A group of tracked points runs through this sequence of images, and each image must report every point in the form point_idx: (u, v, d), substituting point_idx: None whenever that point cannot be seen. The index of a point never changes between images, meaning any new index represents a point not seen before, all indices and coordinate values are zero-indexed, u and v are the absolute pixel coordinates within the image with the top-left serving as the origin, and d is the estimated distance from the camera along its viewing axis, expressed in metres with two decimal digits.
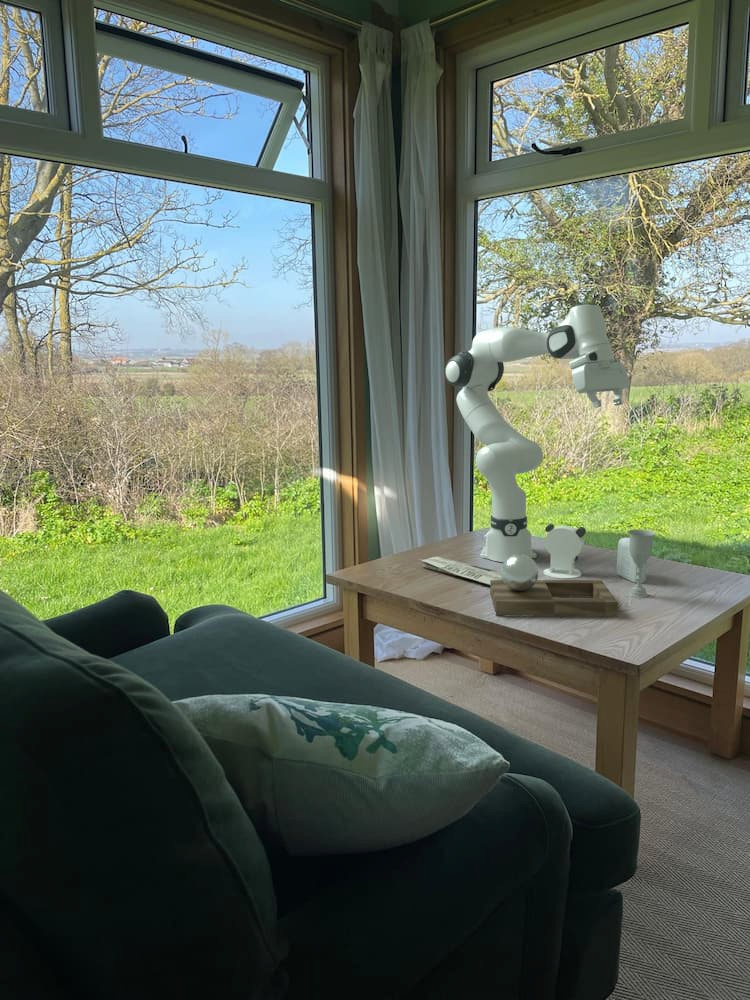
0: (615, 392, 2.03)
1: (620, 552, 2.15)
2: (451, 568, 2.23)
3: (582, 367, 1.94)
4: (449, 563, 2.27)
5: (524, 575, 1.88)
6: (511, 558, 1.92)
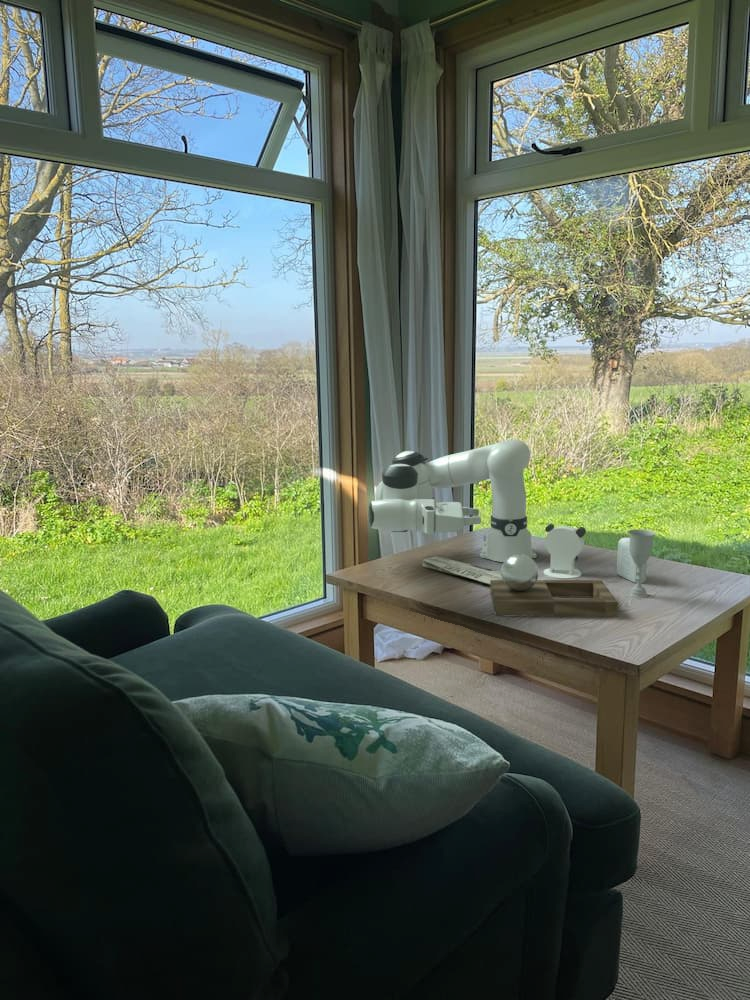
0: (464, 513, 1.97)
1: (620, 552, 2.15)
2: (451, 568, 2.23)
3: (438, 517, 1.83)
4: (450, 563, 2.27)
5: (524, 575, 1.88)
6: (511, 558, 1.92)
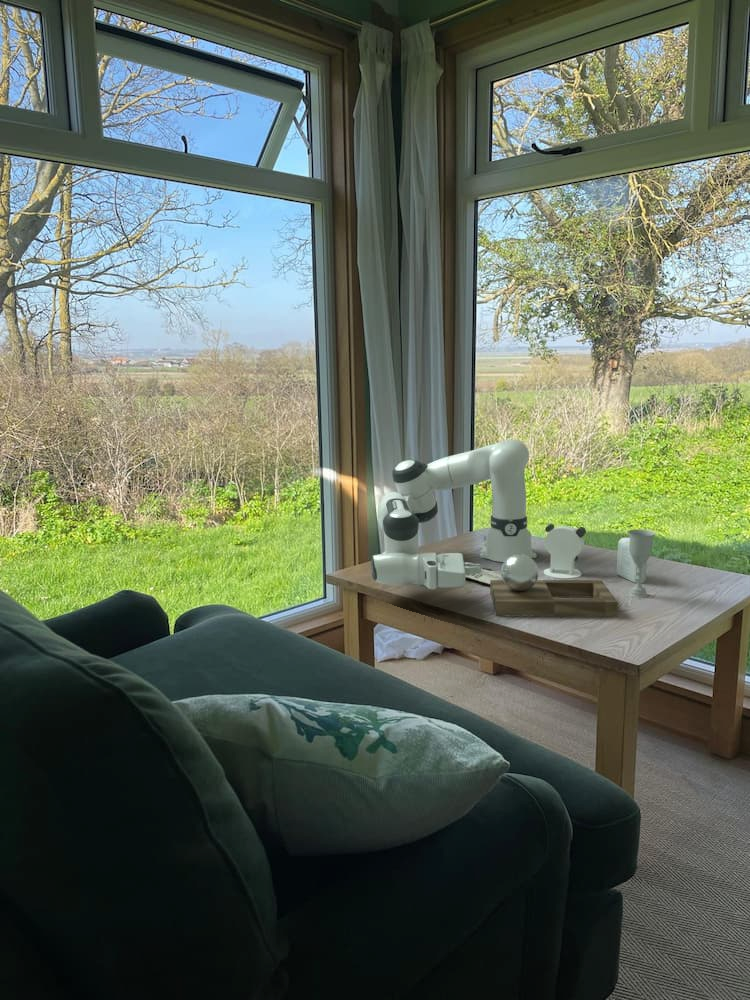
0: None
1: (620, 552, 2.15)
2: None
3: (440, 573, 1.86)
4: None
5: (524, 575, 1.88)
6: (511, 558, 1.92)
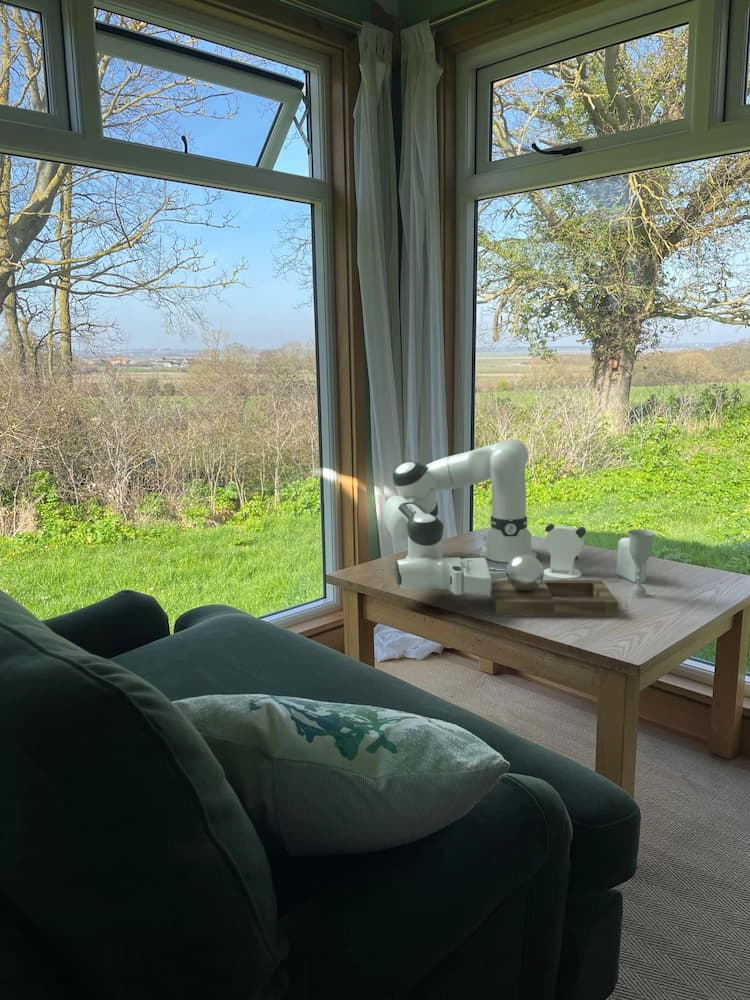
0: None
1: (620, 552, 2.15)
2: None
3: (466, 578, 1.84)
4: None
5: (530, 576, 1.88)
6: (521, 557, 1.91)
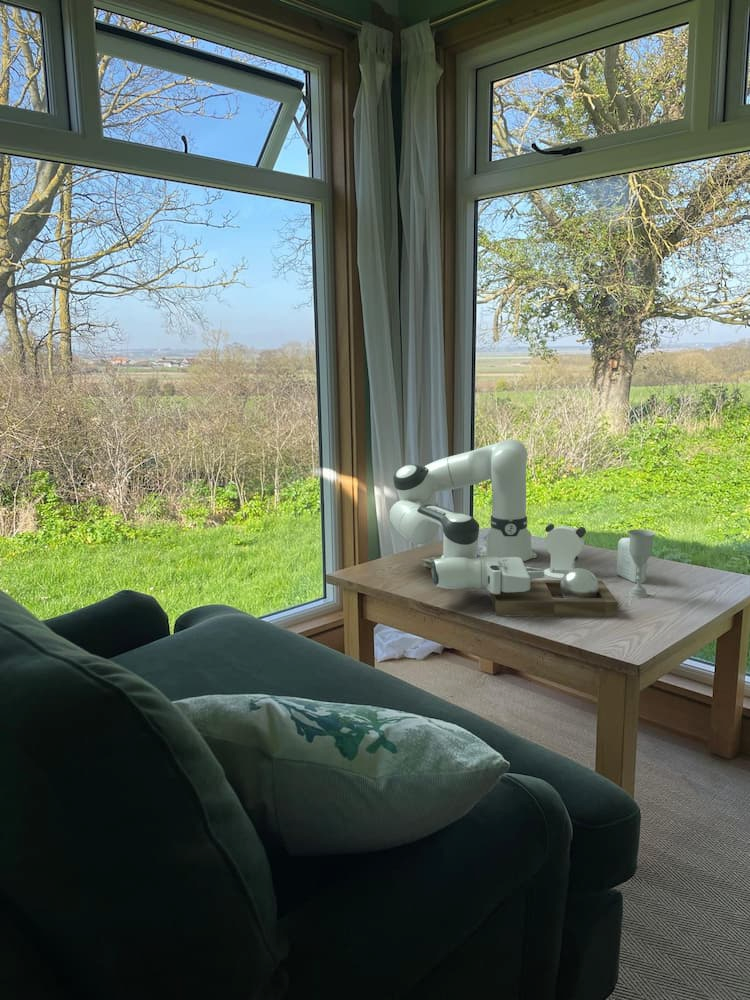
0: None
1: (620, 552, 2.15)
2: None
3: (505, 578, 1.84)
4: None
5: (580, 593, 1.88)
6: None
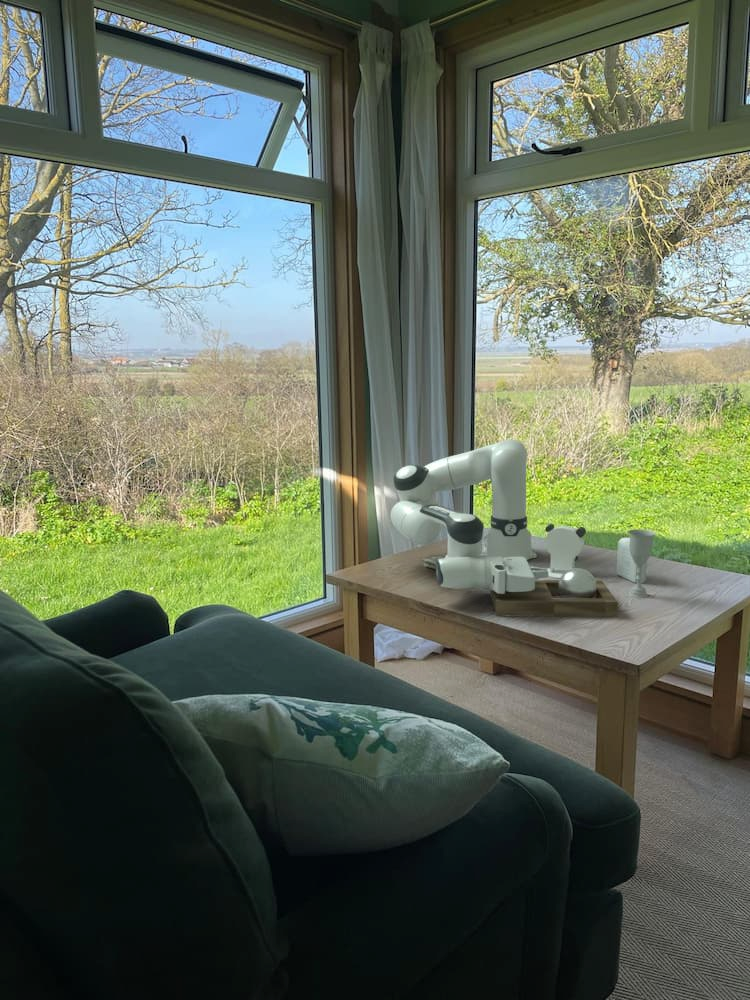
0: None
1: (620, 552, 2.15)
2: None
3: (510, 577, 1.84)
4: None
5: (579, 593, 1.88)
6: None
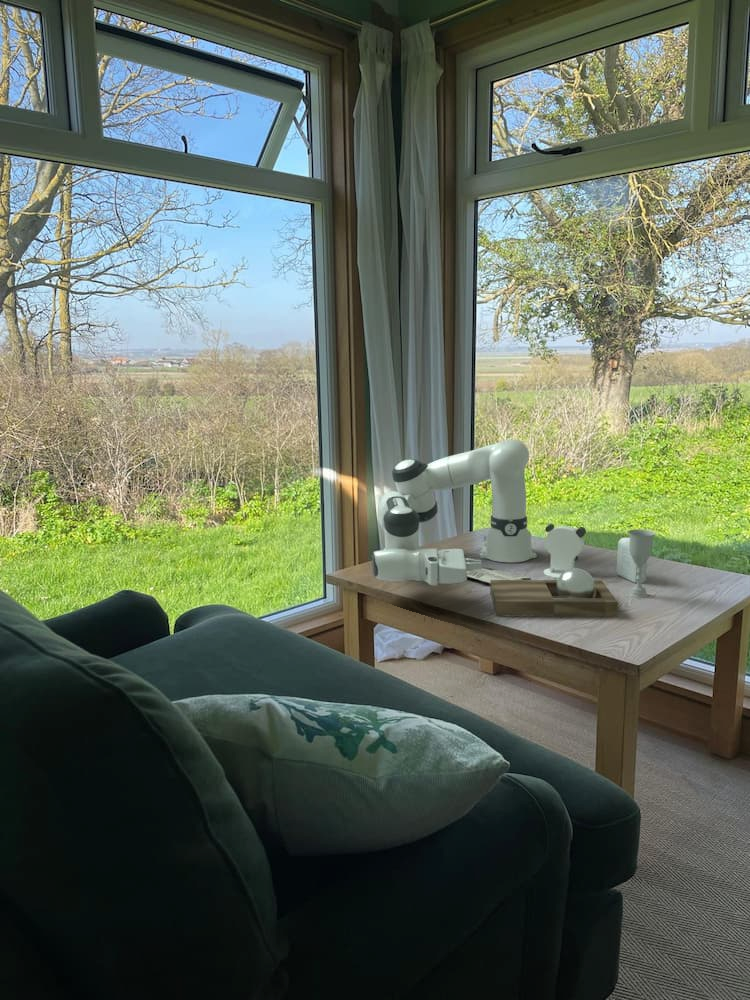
0: None
1: (620, 552, 2.15)
2: None
3: (441, 569, 1.85)
4: None
5: (577, 593, 1.88)
6: None
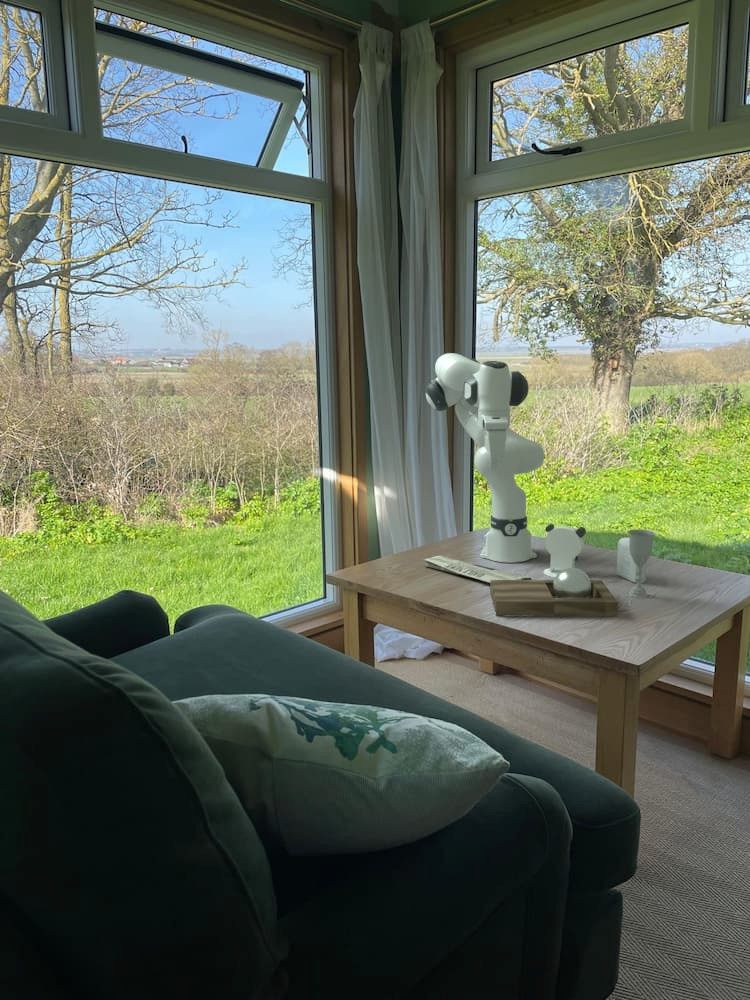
0: None
1: (620, 552, 2.15)
2: (454, 567, 2.24)
3: (502, 433, 1.91)
4: (452, 562, 2.28)
5: (573, 593, 1.89)
6: None
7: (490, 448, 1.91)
